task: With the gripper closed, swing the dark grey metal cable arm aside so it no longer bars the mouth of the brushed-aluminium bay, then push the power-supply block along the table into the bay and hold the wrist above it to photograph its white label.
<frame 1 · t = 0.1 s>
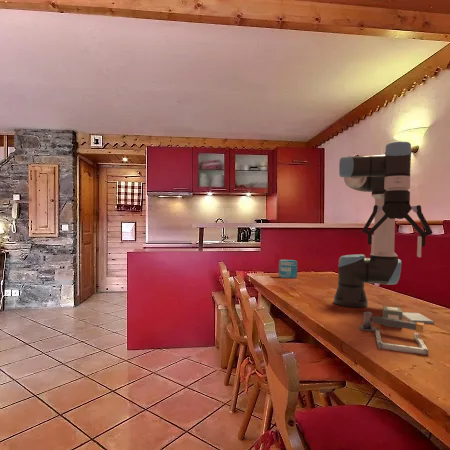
hand: (395, 255, 111), 28 cm above the table, tool pointing down, fingers open, 13 cm apart
post: (367, 329, 123), on the table
bay: (399, 342, 110), on the table
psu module: (391, 324, 130), on the table
data package: (287, 277, 235), on the table
cable arm: (397, 323, 117), point 4 cm above the table, hinge at 75.0°
hard drive: (415, 320, 138), on the table
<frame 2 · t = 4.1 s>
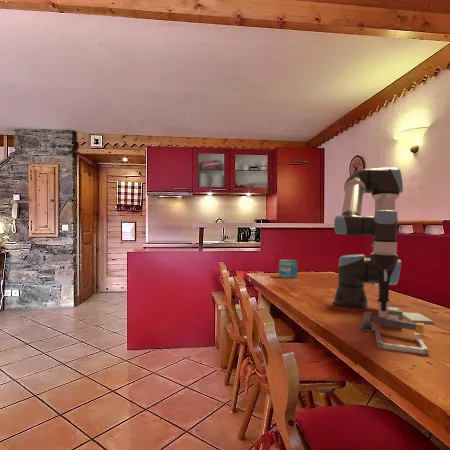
hand: (382, 319, 122), 4 cm above the table, tool pointing down, fingers closed
cable arm: (397, 323, 117), point 4 cm above the table, hinge at 73.2°, touching gripper
everything else where it was.
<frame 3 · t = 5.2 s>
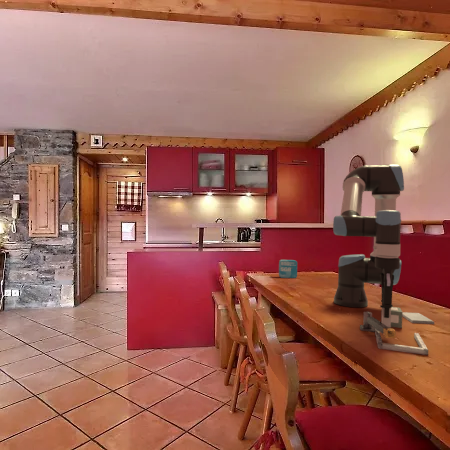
hand: (385, 326, 115), 4 cm above the table, tool pointing down, fingers closed
cable arm: (379, 326, 113), point 4 cm above the table, hinge at 19.9°, touching gripper
everything else where it was.
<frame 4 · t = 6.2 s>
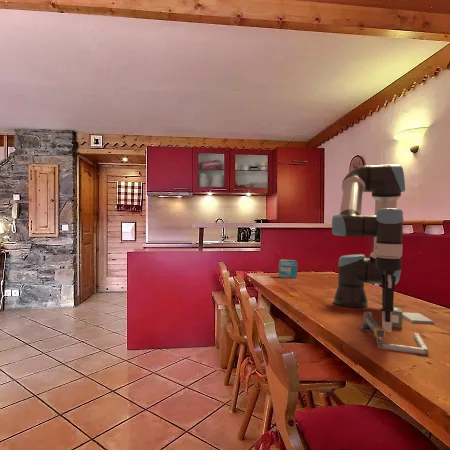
hand: (386, 331, 108), 4 cm above the table, tool pointing down, fingers closed
cable arm: (374, 326, 114), point 4 cm above the table, hinge at 9.9°, touching gripper
everything else where it was.
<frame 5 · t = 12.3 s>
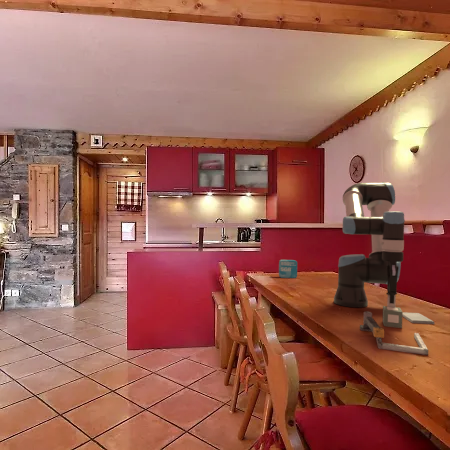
hand: (391, 311, 134), 4 cm above the table, tool pointing down, fingers closed
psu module: (392, 324, 130), on the table, touching gripper
cable arm: (373, 326, 114), point 4 cm above the table, hinge at 8.7°
everything else where it was.
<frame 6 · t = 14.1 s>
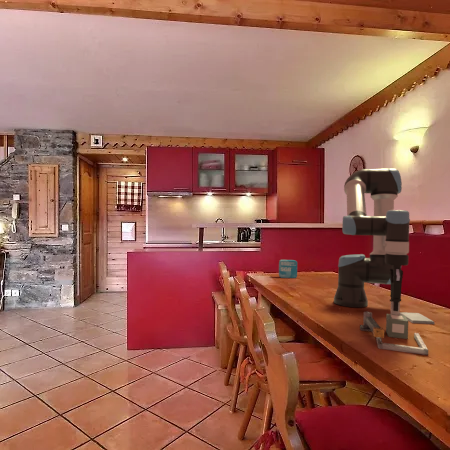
hand: (394, 319, 122), 4 cm above the table, tool pointing down, fingers closed
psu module: (396, 334, 118), on the table, touching gripper
everything else where it was.
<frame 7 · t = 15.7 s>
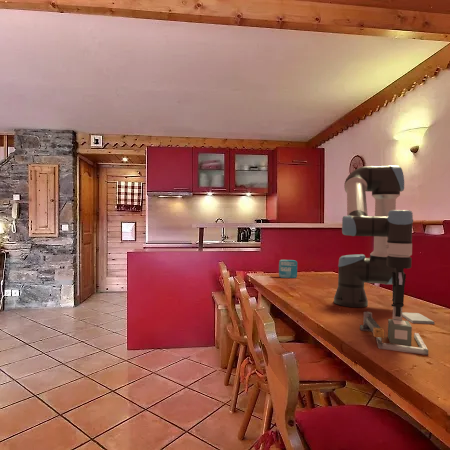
hand: (397, 325, 115), 4 cm above the table, tool pointing down, fingers closed
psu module: (399, 340, 111), on the table, touching gripper
everything else where it was.
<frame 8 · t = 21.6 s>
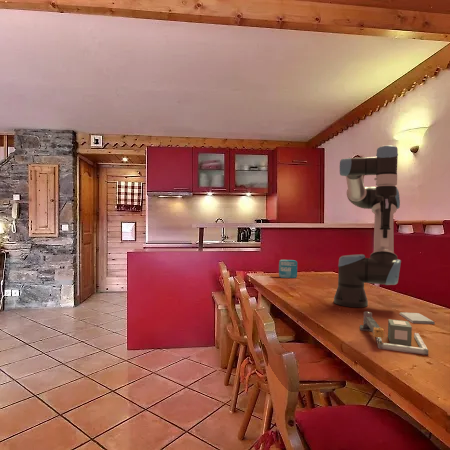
hand: (384, 246, 134), 29 cm above the table, tool pointing down, fingers closed
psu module: (399, 341, 111), on the table
everything else where it was.
at the end: cable arm at +9° (first picture: +75°); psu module inside the target area (2.9 cm from its centre), on the table; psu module tilted 0° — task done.
